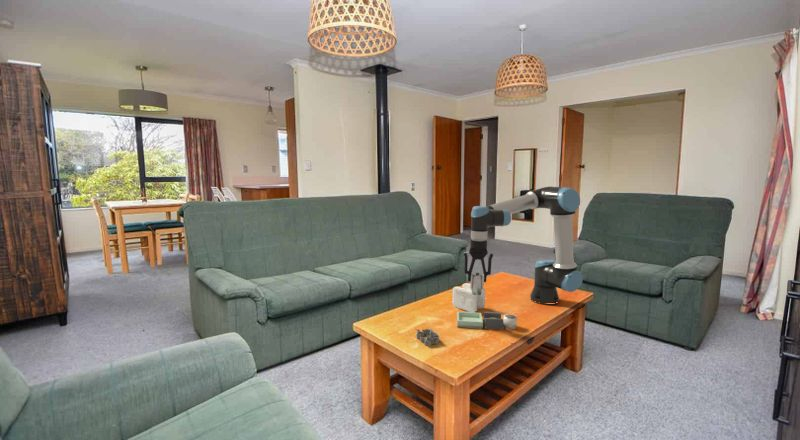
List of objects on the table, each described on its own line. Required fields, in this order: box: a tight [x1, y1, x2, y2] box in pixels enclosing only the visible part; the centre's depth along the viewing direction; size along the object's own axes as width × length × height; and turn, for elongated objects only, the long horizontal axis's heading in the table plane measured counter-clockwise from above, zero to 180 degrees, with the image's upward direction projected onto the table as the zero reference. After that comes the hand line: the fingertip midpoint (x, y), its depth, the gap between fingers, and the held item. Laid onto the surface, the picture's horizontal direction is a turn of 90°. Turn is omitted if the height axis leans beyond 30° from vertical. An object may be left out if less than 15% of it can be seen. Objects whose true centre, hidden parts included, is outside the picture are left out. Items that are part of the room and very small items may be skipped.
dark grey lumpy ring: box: [414, 328, 441, 347], centre depth 157 cm, size 11×8×4 cm
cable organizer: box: [451, 282, 486, 313], centre depth 194 cm, size 15×11×12 cm
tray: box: [456, 311, 484, 330], centre depth 176 cm, size 12×12×3 cm
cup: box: [502, 313, 518, 330], centre depth 171 cm, size 6×6×5 cm
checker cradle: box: [483, 311, 504, 330], centre depth 173 cm, size 8×9×5 cm
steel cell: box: [471, 272, 483, 295], centre depth 172 cm, size 5×5×10 cm
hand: (476, 288), depth 173 cm, fingers closed on steel cell, 4 cm apart
